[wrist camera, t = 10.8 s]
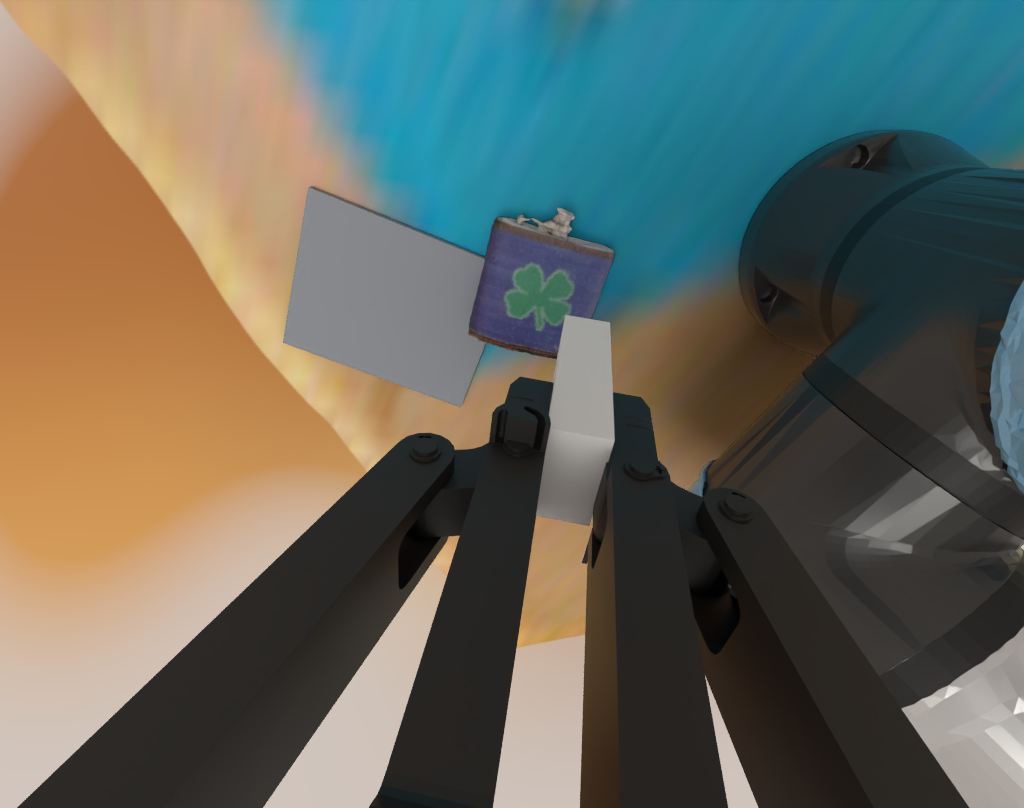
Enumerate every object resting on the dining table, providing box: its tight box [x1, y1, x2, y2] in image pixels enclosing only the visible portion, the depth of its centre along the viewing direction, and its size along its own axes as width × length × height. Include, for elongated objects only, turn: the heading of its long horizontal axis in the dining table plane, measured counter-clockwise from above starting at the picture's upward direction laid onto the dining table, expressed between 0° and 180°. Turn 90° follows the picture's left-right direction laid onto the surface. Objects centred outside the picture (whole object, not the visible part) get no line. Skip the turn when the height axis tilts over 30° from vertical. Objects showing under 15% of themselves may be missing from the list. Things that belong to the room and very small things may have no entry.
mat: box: [283, 187, 486, 407], centre depth 40 cm, size 16×13×1 cm
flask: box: [468, 208, 615, 359], centre depth 36 cm, size 9×3×11 cm
